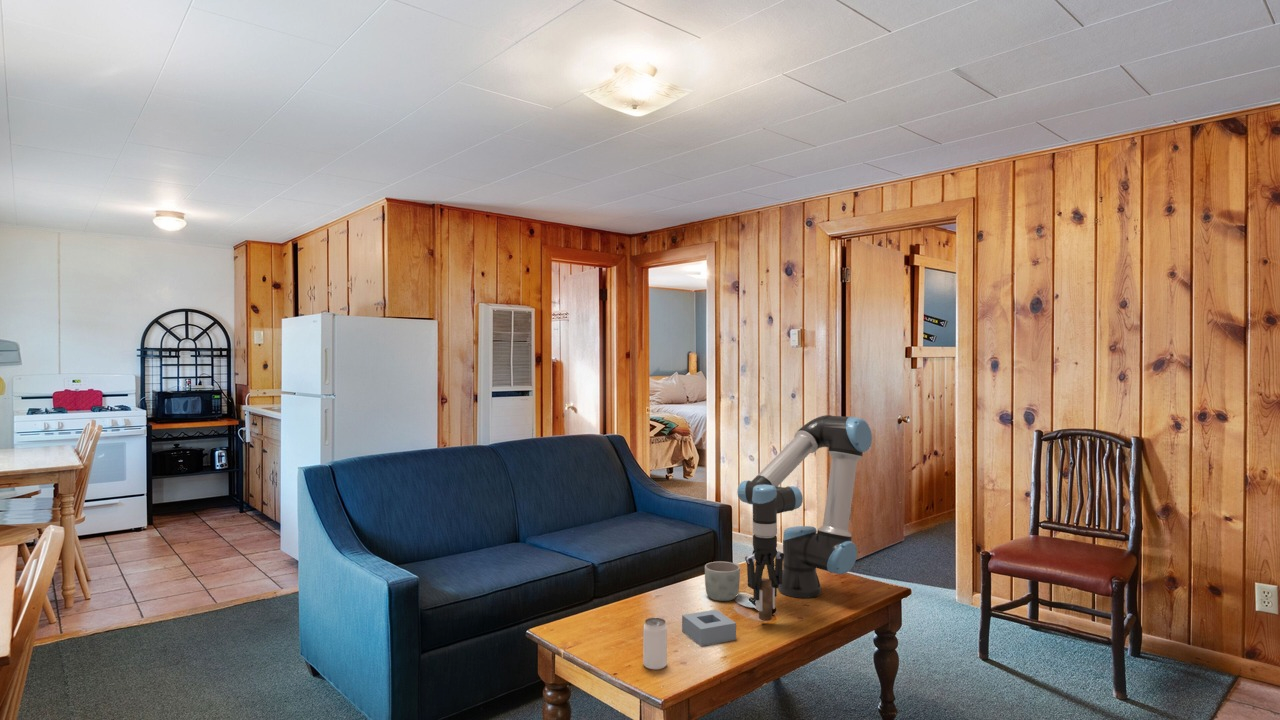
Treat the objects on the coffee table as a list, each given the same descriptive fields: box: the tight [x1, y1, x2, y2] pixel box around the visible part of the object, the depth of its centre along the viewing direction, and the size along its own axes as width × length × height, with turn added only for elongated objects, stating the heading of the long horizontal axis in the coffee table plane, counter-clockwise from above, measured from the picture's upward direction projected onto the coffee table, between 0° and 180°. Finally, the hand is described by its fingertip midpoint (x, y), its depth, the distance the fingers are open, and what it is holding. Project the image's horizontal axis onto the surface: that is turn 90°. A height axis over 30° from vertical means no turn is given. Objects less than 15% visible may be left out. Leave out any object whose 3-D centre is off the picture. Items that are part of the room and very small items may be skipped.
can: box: [642, 617, 668, 671], centre depth 188 cm, size 6×6×12 cm
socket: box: [681, 609, 737, 647], centre depth 208 cm, size 12×12×5 cm
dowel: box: [758, 577, 773, 622], centre depth 217 cm, size 4×4×12 cm
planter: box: [704, 560, 741, 602], centre depth 242 cm, size 12×12×11 cm
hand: (765, 608), depth 217 cm, fingers closed on dowel, 4 cm apart
